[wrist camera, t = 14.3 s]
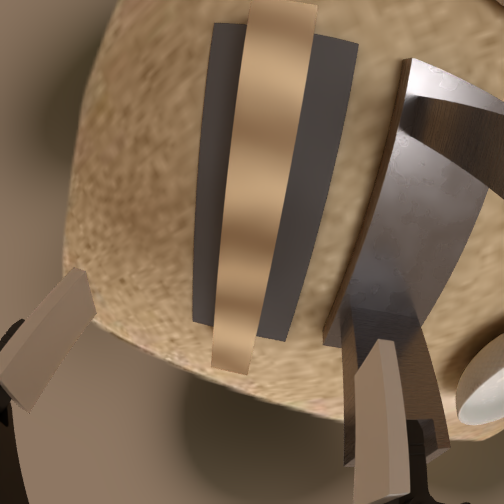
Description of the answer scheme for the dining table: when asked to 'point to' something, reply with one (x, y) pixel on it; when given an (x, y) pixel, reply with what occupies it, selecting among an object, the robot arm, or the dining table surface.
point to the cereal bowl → (482, 386)
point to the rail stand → (416, 236)
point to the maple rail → (259, 169)
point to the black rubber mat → (299, 182)
